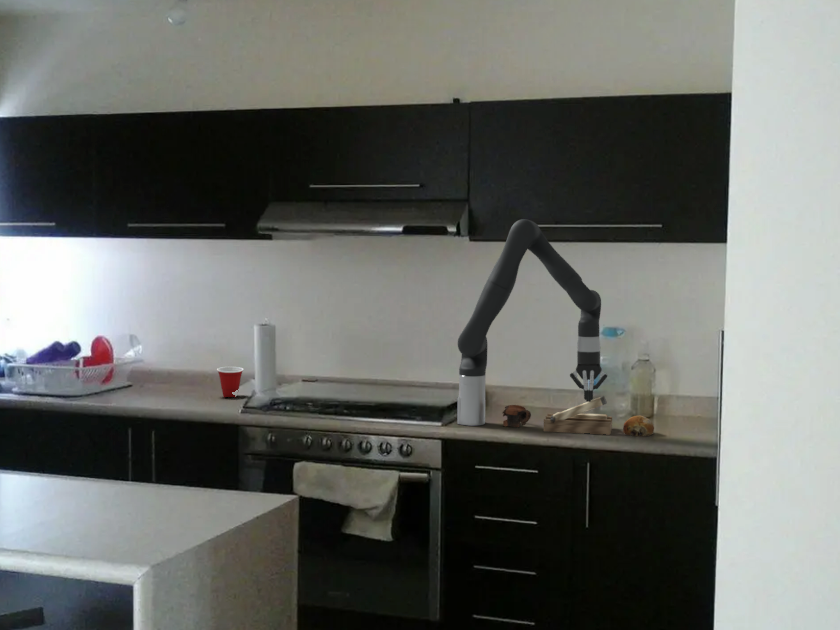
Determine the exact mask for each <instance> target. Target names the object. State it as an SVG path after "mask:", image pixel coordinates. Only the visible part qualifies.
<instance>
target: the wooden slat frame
mask: <svg viewBox="0 0 840 630" xmlns="http://www.w3.org/2000/svg"><path fill="white" fill-rule="evenodd" d="M559 412H560V411H559ZM559 412H558V411H557V412H556V413H547V415H546V416H545V418H544V419H543V432H549V433H550V432H551V433H565V434H566V433H567V434H568V433H569V434H584V433H590V435H603V434H606V436H607V435H608V436H611V433H612V430H613V416H608V414H605V413H604V414H603V413H586V412H583V413H580V414H578V415H575V416H572V417H570V418H567V419H565V420H555V418H551V416H552V415H554V414H557V413H559ZM550 418H551V419H550Z"/></svg>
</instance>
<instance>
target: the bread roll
mask: <svg viewBox="0 0 840 630" xmlns="http://www.w3.org/2000/svg"><path fill="white" fill-rule="evenodd" d="M622 428H623V429H622V431H623V434H624V433H625V435H627V436H630V435H632V436H631V437H650V436H652V435H653V434H654V431H655V426H654V424H653V422H652V421H651V419H649V418H647V417H646V416H643V415H633V416H631V417H629V418H628V419H627V420H626V421H625V422H624V423H623V427H622Z"/></svg>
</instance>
